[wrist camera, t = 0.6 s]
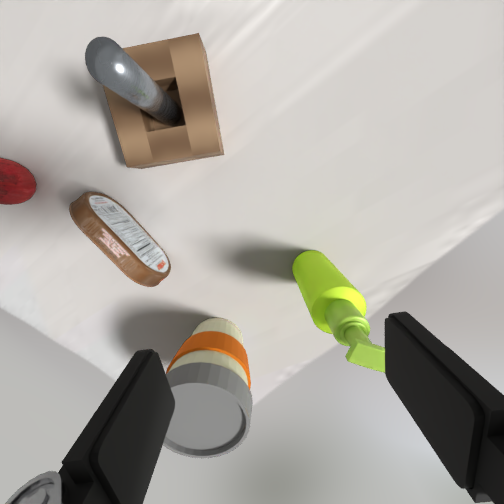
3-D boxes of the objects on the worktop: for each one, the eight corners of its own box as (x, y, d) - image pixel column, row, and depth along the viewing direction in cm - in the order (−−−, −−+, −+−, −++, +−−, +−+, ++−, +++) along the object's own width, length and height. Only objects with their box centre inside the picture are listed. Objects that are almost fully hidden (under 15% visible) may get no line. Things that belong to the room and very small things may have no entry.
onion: (42, 158, 33) (-22, 151, 25) (57, 199, 35) (1, 205, 27) (3, 162, 33) (-72, 157, 26) (19, 203, 35) (-46, 210, 27)
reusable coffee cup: (236, 376, 44) (228, 470, 30) (173, 354, 43) (133, 442, 28) (264, 323, 41) (269, 401, 26) (196, 298, 39) (163, 366, 25)
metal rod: (156, 102, 30) (79, 41, 17) (178, 98, 30) (118, 32, 17) (162, 127, 31) (93, 88, 18) (184, 123, 31) (131, 81, 18)
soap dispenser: (326, 290, 39) (397, 397, 20) (287, 278, 38) (320, 377, 19) (340, 258, 37) (433, 341, 18) (299, 245, 37) (351, 317, 17)
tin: (96, 200, 35) (49, 206, 27) (110, 186, 34) (66, 188, 26) (166, 274, 38) (143, 299, 30) (181, 263, 38) (161, 285, 30)
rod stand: (114, 70, 30) (93, 54, 26) (205, 52, 29) (198, 33, 25) (141, 168, 33) (127, 167, 29) (224, 154, 33) (220, 151, 29)
